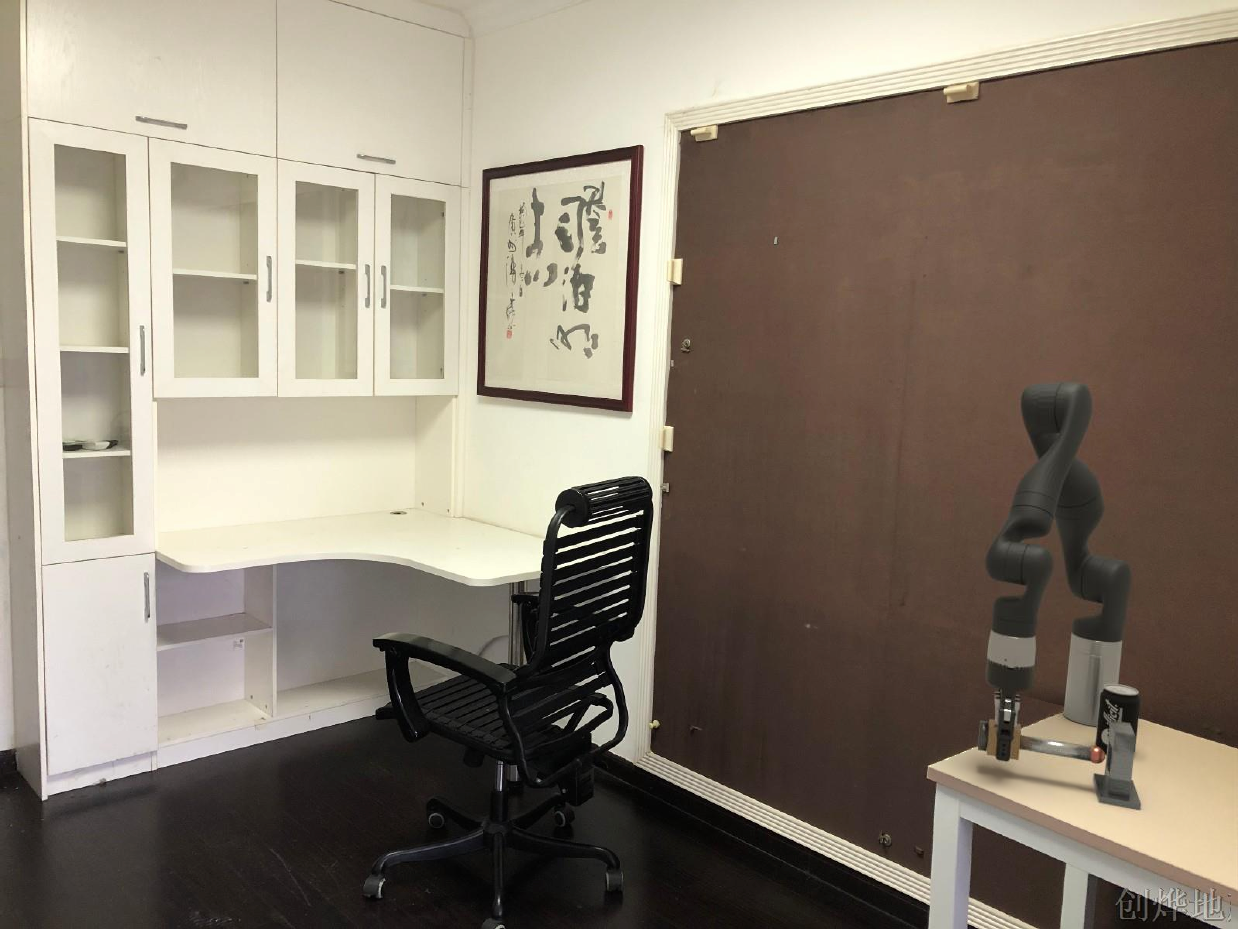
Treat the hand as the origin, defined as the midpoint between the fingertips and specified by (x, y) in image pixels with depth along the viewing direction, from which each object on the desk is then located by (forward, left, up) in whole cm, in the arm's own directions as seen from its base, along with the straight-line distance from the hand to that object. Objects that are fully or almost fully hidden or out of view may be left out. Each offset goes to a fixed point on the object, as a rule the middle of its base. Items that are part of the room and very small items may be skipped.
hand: (1002, 754), depth 166 cm
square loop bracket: (0, +18, -3) cm, 18 cm away
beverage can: (-21, +20, -3) cm, 29 cm away
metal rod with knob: (0, +6, 0) cm, 6 cm away
